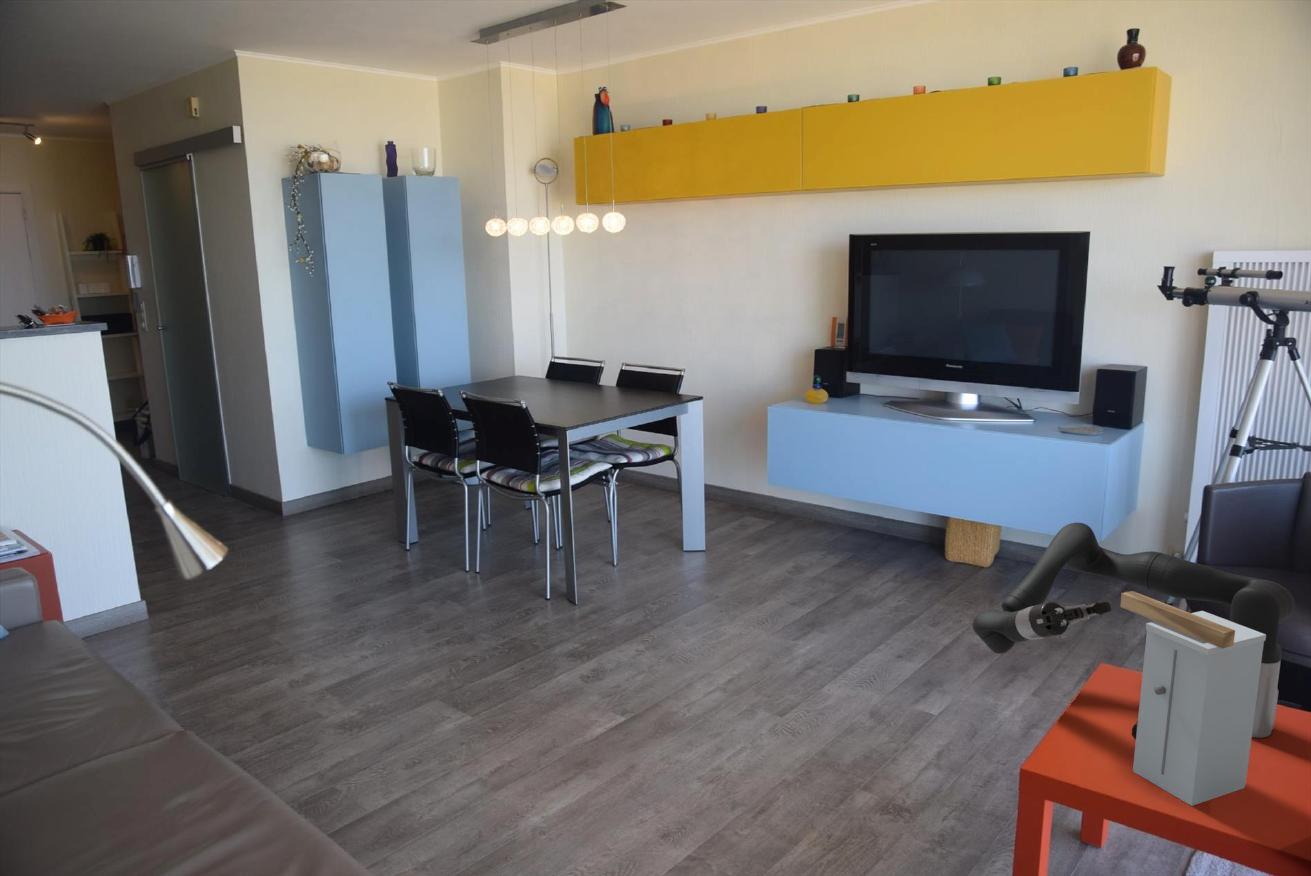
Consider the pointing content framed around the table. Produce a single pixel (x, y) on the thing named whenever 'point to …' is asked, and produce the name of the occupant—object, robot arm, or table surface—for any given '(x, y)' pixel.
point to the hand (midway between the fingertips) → (1094, 609)
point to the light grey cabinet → (1197, 711)
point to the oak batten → (1178, 619)
